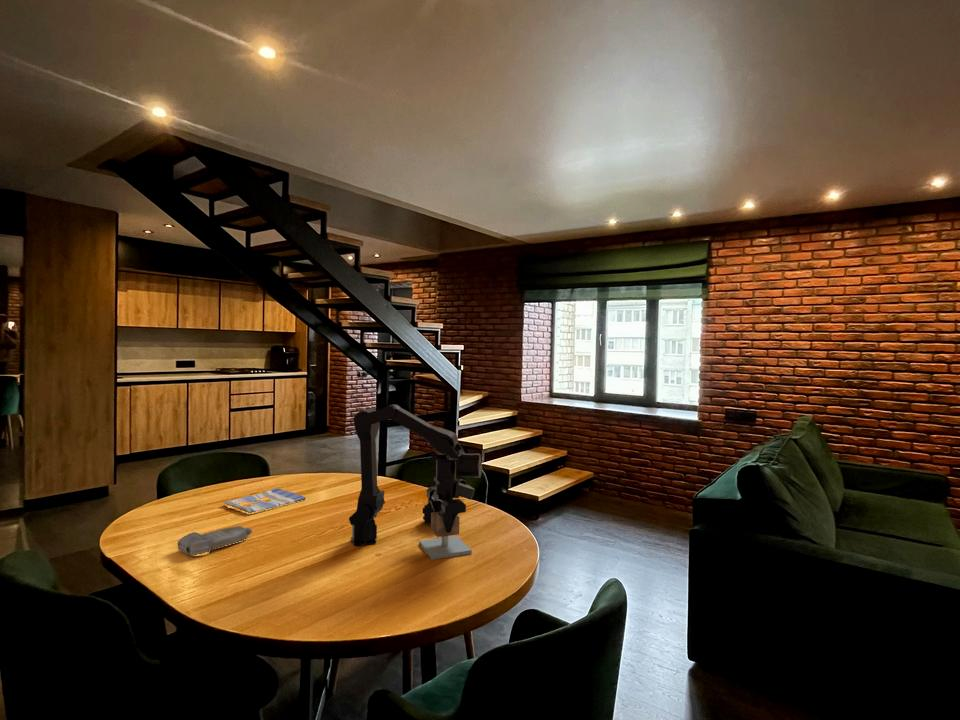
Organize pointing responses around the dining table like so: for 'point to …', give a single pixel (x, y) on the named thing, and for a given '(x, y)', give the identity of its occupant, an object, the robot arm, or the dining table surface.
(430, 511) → the toy
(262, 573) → the dining table surface
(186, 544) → the handheld device
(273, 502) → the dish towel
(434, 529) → the hollow square sleeve
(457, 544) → the grey peg base
